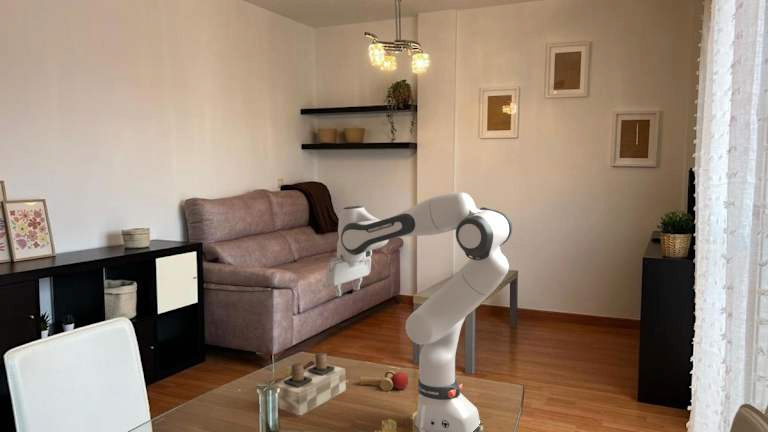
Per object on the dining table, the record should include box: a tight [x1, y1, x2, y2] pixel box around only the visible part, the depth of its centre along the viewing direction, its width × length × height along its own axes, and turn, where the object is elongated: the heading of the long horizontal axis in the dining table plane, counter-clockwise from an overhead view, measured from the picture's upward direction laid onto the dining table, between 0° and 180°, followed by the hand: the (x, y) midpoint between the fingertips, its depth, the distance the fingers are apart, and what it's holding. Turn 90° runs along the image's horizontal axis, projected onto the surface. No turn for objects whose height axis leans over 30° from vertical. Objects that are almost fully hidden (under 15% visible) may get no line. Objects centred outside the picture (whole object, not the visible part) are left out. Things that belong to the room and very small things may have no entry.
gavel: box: [284, 360, 315, 379], centre depth 222 cm, size 21×5×10 cm
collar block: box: [272, 363, 347, 416], centre depth 199 cm, size 12×24×9 cm, turn 145°
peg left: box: [291, 362, 305, 383], centre depth 194 cm, size 4×4×8 cm
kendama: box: [359, 370, 409, 392], centre depth 208 cm, size 8×6×18 cm
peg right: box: [314, 352, 328, 371], centre depth 204 cm, size 4×4×8 cm
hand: (347, 292), depth 195 cm, fingers open, 8 cm apart
